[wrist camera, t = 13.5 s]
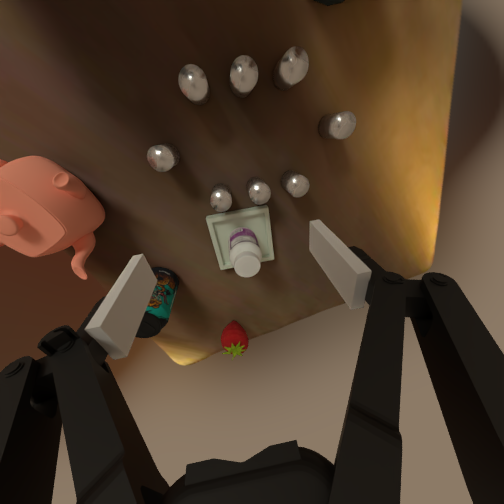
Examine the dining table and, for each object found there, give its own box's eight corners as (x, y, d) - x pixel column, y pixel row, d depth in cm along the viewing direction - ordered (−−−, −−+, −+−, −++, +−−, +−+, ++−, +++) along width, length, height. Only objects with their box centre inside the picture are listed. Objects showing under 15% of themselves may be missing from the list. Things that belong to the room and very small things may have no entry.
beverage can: (162, 259, 40) (141, 302, 30) (186, 281, 43) (175, 327, 33) (135, 276, 41) (106, 324, 31) (161, 297, 44) (142, 346, 34)
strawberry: (230, 334, 53) (231, 373, 45) (215, 317, 50) (214, 355, 41) (250, 325, 53) (256, 363, 44) (237, 307, 49) (240, 345, 40)
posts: (177, 210, 35) (171, 221, 31) (132, 85, 27) (115, 76, 22) (334, 181, 36) (349, 187, 32) (342, 49, 27) (364, 34, 23)
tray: (220, 265, 42) (220, 270, 41) (206, 216, 36) (205, 219, 35) (272, 255, 42) (274, 259, 41) (266, 204, 37) (268, 207, 35)
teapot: (-7, 137, 28) (-125, 139, 18) (111, 161, 31) (62, 174, 21) (25, 233, 34) (-49, 271, 25) (119, 245, 37) (84, 283, 28)
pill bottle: (253, 252, 41) (260, 283, 32) (226, 249, 39) (227, 280, 31) (258, 227, 38) (268, 254, 30) (230, 223, 37) (232, 249, 29)
